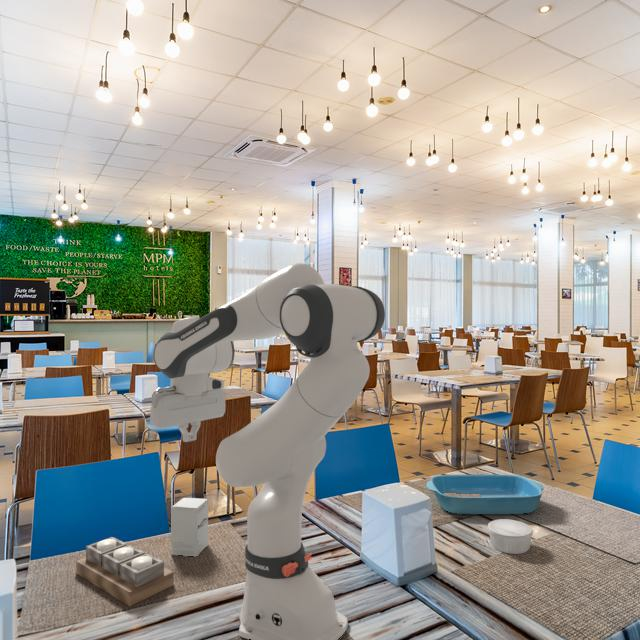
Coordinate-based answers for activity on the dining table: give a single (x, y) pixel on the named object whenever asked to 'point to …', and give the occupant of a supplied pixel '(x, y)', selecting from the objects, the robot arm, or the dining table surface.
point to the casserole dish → (486, 493)
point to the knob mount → (123, 574)
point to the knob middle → (123, 553)
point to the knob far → (106, 544)
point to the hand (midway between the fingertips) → (189, 440)
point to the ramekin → (510, 536)
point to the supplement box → (189, 526)
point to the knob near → (141, 562)
